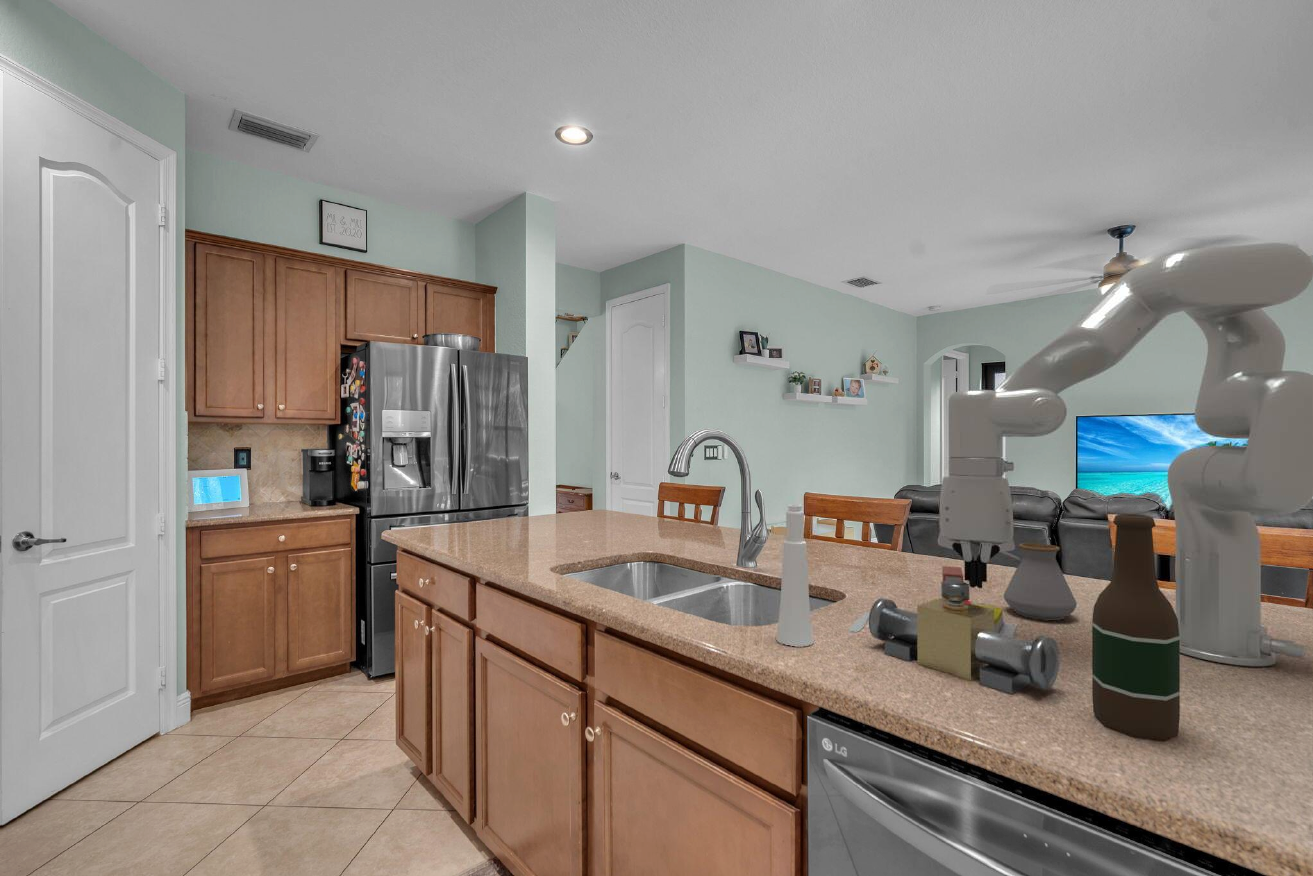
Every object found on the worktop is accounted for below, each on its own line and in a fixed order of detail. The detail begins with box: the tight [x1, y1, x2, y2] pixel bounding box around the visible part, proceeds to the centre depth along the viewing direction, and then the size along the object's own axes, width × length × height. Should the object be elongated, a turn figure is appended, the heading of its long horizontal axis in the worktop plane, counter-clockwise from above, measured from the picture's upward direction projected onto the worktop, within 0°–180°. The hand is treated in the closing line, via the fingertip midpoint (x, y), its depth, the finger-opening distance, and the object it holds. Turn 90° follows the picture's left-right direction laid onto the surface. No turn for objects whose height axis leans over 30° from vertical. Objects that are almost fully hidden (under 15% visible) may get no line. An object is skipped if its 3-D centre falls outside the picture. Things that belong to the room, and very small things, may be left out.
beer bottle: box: [1091, 513, 1181, 742], centre depth 68 cm, size 8×8×24 cm
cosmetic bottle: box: [775, 504, 815, 648], centre depth 96 cm, size 6×6×22 cm
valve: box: [868, 597, 1060, 695], centre depth 85 cm, size 24×7×10 cm, turn 37°
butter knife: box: [848, 611, 870, 633], centre depth 113 cm, size 1×27×3 cm
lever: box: [940, 565, 970, 601], centre depth 91 cm, size 4×16×2 cm, turn 155°
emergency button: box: [933, 598, 1018, 637], centre depth 105 cm, size 9×4×15 cm
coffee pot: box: [970, 542, 1077, 621], centre depth 113 cm, size 21×12×15 cm, turn 61°
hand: (975, 585), depth 93 cm, fingers closed
